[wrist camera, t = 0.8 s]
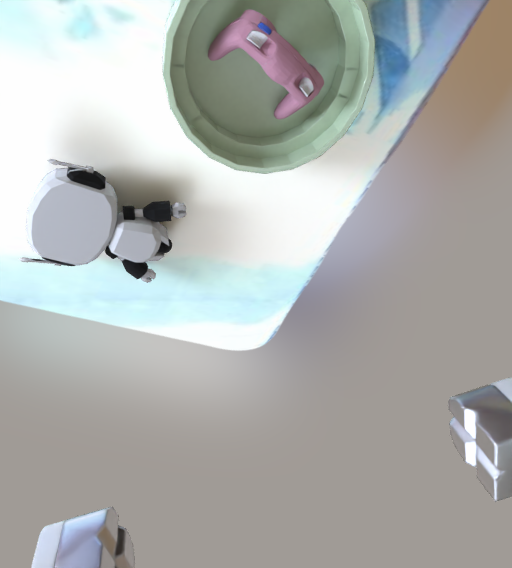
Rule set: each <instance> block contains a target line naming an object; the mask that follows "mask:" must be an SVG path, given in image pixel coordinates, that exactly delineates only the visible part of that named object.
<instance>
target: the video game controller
mask: <svg viewBox="0 0 512 568" xmlns="http://www.w3.org/2000/svg"><path fill="white" fill-rule="evenodd" d="M238 48H242V49H243V50H245V51H246V52H247V53H248V54H249V55H250V56H251V57H252V58H253V59H254V60H256V61H257V62H258V63H259V64H260V65H261V67H262V68H263V70H264V71H265V72H266V74H267V75H268V76H269V77H270V78H271V79H272V80H273V81H275V82H276V83H278V84H280V85H282V86H284V88H285V89H286V90H287V91H288V92H289V93H288V94H287V95H286V96H285V97H284V98H283V99H282V100H281V101H280V103H279V104H278V105H277V107H276V109H275V111H274V117H275V118H277V119H284V118H287V117H288V116H290V115H292V114H293V113H295V112H296V111H298V110H299V109H301V108H302V107H304V106H305V105H307V104H308V103H309V102H311V101H312V100H313V99H314V97H315V96H317V95H318V93H319V92H320V90H321V88H322V87H323V85H324V80H323V77H322V76H321V74H320V73H319V72H318V70H317V68H316V67H315V65H313V64H311V63H308V62H307V61H306V60H305V59H304V58H303V57H302V56H301V54H300V53H299V52H298V51H297V50H296V49H295V48H294V47H293V46H292V45H291V44H290V43H289V42H288V41H287V40H285V39H284V38H283V37H282V36H281V35H279V34H278V33H277V31H276V29H275V27H274V25H273V24H272V23H271V21H270V20H268V19H267V18H266V17H265V16H264V15H262V14H261V13H259V12H257V11H254V10H250V9H248V10H245V11H244V12H243V14H242V15H241V17H239V18H237V19H235V20H234V21H233V22H231V23H230V24H229V25H227V26H226V27H225V28H224V29H223V30H222V31H221V32H220V33H219V34H218V35H217V37H216V38H215V39H214V40H213V42H212V43H211V45H210V47H209V50H208V58H209V59H210V60H211V61H215V60H219V59H221V58H222V57H224V56H225V55H227V54H228V53H230V52H231V51H233V50H235V49H238Z"/></svg>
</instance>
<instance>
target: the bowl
mask: <svg viewBox="0 0 512 568" xmlns="http://www.w3.org/2000/svg"><path fill="white" fill-rule="evenodd" d="M248 9H250V10H254V11H257V12H259V13H261V14H262V15H264V16H265V17H266V18H267V19H268V20H270V21H271V23H272V24H273V25H274V27H275V29H276V31H277V33H278V34H279V35H281V36H282V37H283V38H284V39H285V40H287V41H288V42H289V43H290V44H291V45H292V46H293V47H294V48H295V49H296V50H297V51H298V52H299V53H300V54H301V56H302V57H303V58H304V59H305V60H306V61H307V62H308V63H311V64H313V65H315V67H316V68H317V70H318V72H319V73H320V74H321V76H322V77H323V80H324V85H323V87H322V88H321V90H320V92H319V93H318V95H317V96H315V97H314V99H313V100H312V101H311V102H309V103H308V104H307V105H305V106H304V107H302V108H301V109H299V110H298V111H296V112H295V113H293V114H292V115H290V116H288V117H287V118H284V119H277V118H275V117H274V111H275V109H276V107H277V105H278V104H279V103H280V101H281V100H282V99H283V98H284V97H285V96H286V95H287V94H288V93H289V92H288V91H287V90H286V89H285V88H284V86H282V85H280V84H278V83H276V82H275V81H273V80H272V79H271V78H270V77H269V76H268V75H267V74H266V72H265V71H264V70H263V68H262V67H261V65H260V64H259V63H258V62H257V61H256V60H254V59H253V58H252V57H251V56H250V55H249V54H248V53H247V52H246V51H245V50H243V49H242V48H238V49H235V50H233V51H231V52H230V53H228V54H227V55H225V56H224V57H222V58H221V59H219V60H215V61H211V60H210V59H209V58H208V50H209V47H210V45H211V43H212V42H213V40H214V39H215V38H216V37H217V35H218V34H219V33H220V32H221V31H222V30H223V29H224V28H225V27H226V26H227V25H229V24H230V23H231V22H233V21H234V20H235V19H237V18H239V17H241V15H242V14H243V12H244V11H245V10H248ZM374 53H375V38H374V34H373V30H372V26H371V22H370V17H369V13H368V9H367V6H366V4H365V2H364V1H363V0H175V1H174V4H173V6H172V9H171V11H170V14H169V16H168V18H167V21H166V24H165V33H164V44H163V56H162V67H163V77H164V82H165V87H166V91H167V96H168V101H169V105H170V109H171V110H172V112H173V114H174V116H175V117H176V119H177V121H178V123H179V125H180V126H181V128H182V130H183V132H184V133H185V135H186V136H187V138H188V139H190V140H191V141H192V142H193V143H194V144H195V145H196V146H197V147H198V148H199V149H200V150H201V151H202V152H204V153H205V154H206V155H207V156H208V157H209V158H211V159H213V160H215V161H217V162H220V163H222V164H224V165H226V166H228V167H230V168H232V169H235V170H239V171H247V172H255V173H262V174H267V173H273V172H279V171H285V170H291V169H294V168H296V167H299V166H301V165H303V164H305V163H307V162H309V161H311V160H313V159H315V158H317V157H320V156H321V155H322V154H323V153H324V152H326V151H327V150H328V149H329V148H330V147H331V146H332V145H334V144H335V143H336V142H337V141H338V140H339V139H341V138H342V137H343V136H344V135H345V133H346V132H347V130H348V129H349V127H350V126H351V124H352V123H353V121H354V120H355V118H356V117H357V115H358V114H359V112H360V111H361V109H362V107H363V104H364V101H365V98H366V95H367V92H368V89H369V87H370V84H371V81H372V78H373V69H374Z"/></svg>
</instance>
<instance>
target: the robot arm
mask: <svg viewBox="0 0 512 568" xmlns="http://www.w3.org/2000/svg"><path fill="white" fill-rule="evenodd" d="M448 403H449V411H450V412H451V413H452V414H453V415H454V417H453V418H452V420H451V422H450V424H449V425H450V434H451V437H452V440H453V443H454V445H455V447H456V449H457V451H458V453H459V454H460V456H461V457H462V458H463V460H464V461H465V462H466V463H468V464H470V465H472V466H475V467H477V478H478V480H479V481H480V482H481V484H482V485H483V486H484V487H485V489H486V490H487V492H488V493H489V494H490V495H491V497H492V498H493V499H494V500H495V502H496V501H499V500H502V499H506V498H509V497H512V378H507V379H504V380H501V381H498V382H495V383H492V384H490V385H485V386H482V387H479V388H476V389H473V390H470V391H467V392H464V393H461V394H458V395H455V396H452V397H450V399H449V402H448ZM118 520H119V516H118V514H117V513H116V511H115V509H114V508H113V507H108V508H105V509H101V510H98V511H94V512H91V513H88V514H84V515H81V516H77V517H74V518H71V519H67V520H65V521H62V522H58V523H55V524H51V525H49V526H45V527H44V528H43V530H42V531H41V533H40V536H39V539H38V543H37V547H36V551H35V555H34V559H33V563H32V567H31V568H135V567H134V566H135V557H134V549H133V543H132V541H131V537H130V535H129V533H128V531H127V529H126V528H124V527H121V526H119V525H118Z"/></svg>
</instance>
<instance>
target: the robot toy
mask: <svg viewBox="0 0 512 568" xmlns="http://www.w3.org/2000/svg"><path fill="white" fill-rule="evenodd" d="M47 161H49V162H50V163H51V164H55V165H57V164H58V165H63V166H68V167H69V168H60V169H55V170H53V171H52V172H50V173H48V174H47V175H46V176H45V177H44V178H43V179H42V181H41V182H40V184H39V185H38V187H37V188H36V190H35V192H34V194H33V196H32V198H31V200H30V203H29V207H28V211H27V225H26V232H27V239H28V243H29V244H30V246H31V248H32V250H33V251H35V252H36V253H37V254H39V255H40V256H41V257H42V258H43V259H45V260H40V259H28V258H21V259H19V260H21V261H22V262H39V263H51V264H55V265H59V266H61V265H67V266H75V265H82V264H88V263H89V262H91V261H93V260H95V259H96V258H97V257H98V256H99V255H100V254H101V253H102V252H103V251H104V250H105V248H106V250H105V253H106V254H107V255H108V256H110V257H111V258H112V259H114V258H116V257H117V258H118V259H120V260H121V261H122V263H123V265H124V267H125V269H126V271H127V272H128V273H130V274H131V275H132V276H134V277H135V278H137V279H139V278H141V280H142V281H144V282H147V283H148V282H150V281H152V280H151V278H152V279H154V278H155V276H156V273H155V272H154V271H153V270H152V269H148V266H147V263H145V262H146V261H157V260H160V259H161V258H162V257H164V253H167V252H169V251H170V250H171V248H172V242H171V240H170V239H169V238H168V234H167V228H166V227H164V226H163V225H161V224H160V223H159V222H163V221H171V216H173V217H176V218H182V217H185V215H186V206H185V205H184V203H178V202H177V203H175V204H173V205H171V206H170V202H169V201H161V202H152V203H151V204H149V205H147V206H146V207H144V208H143V209H134V207H133V206H123V211H121V212H120V213H118V214H117V196H116V193H115V191H114V188H113V187H112V186H111V185H110V184H108V183H107V182H106V181H105V177H104V176H102V175H101V174H99V173H98V172H97V171H94V169H93V167H90V166H86V167H83V166H79V165H74V164H69V163H64V162H60V161H57V160H54V159H50V160H47ZM108 243H109V245H108ZM107 245H108V246H107ZM150 277H151V278H150Z"/></svg>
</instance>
